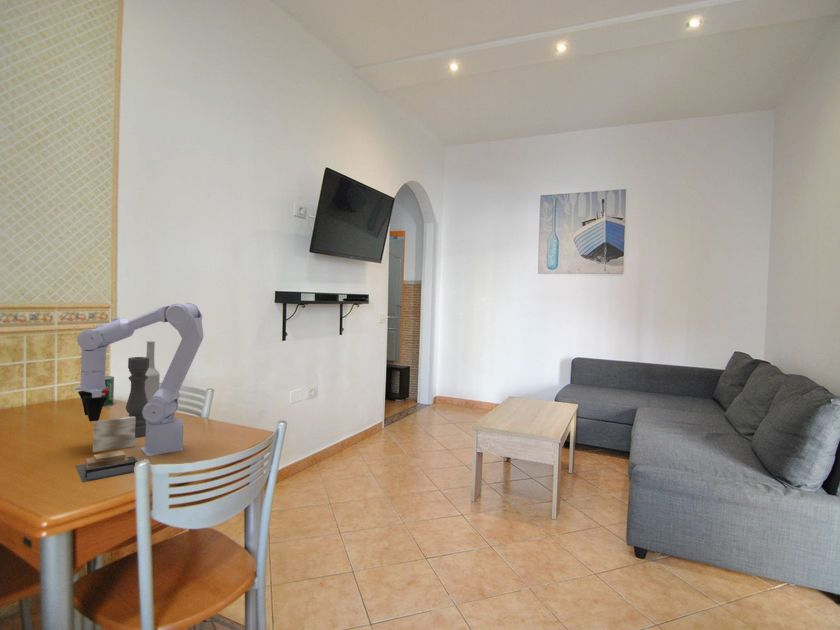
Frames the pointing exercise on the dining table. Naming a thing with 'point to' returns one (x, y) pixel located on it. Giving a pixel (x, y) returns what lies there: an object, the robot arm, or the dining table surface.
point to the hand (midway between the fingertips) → (91, 417)
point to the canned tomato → (108, 391)
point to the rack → (106, 470)
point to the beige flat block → (114, 433)
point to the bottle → (151, 373)
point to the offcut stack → (106, 459)
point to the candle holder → (138, 392)
